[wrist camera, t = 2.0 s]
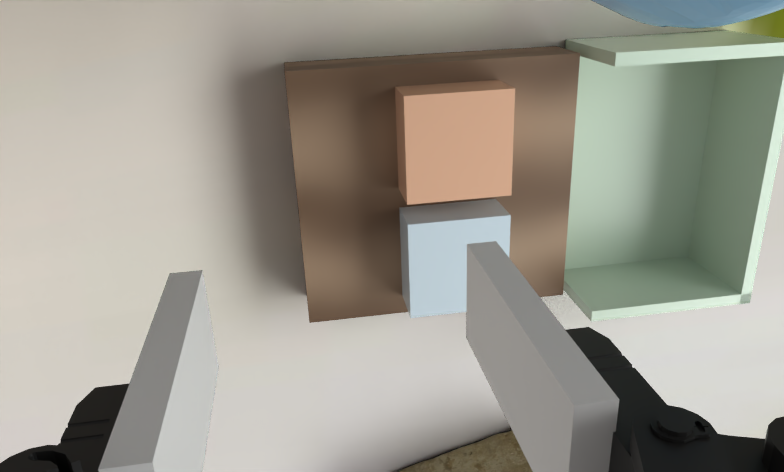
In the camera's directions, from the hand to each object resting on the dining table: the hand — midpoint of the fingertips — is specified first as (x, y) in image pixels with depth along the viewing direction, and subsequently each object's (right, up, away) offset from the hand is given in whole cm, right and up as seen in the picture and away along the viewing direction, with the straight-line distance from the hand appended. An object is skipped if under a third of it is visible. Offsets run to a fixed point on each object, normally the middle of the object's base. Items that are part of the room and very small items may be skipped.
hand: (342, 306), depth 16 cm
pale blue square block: (+4, +1, +18) cm, 18 cm away
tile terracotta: (+4, +7, +15) cm, 17 cm away
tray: (+15, +6, +21) cm, 26 cm away
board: (+3, +5, +19) cm, 20 cm away
